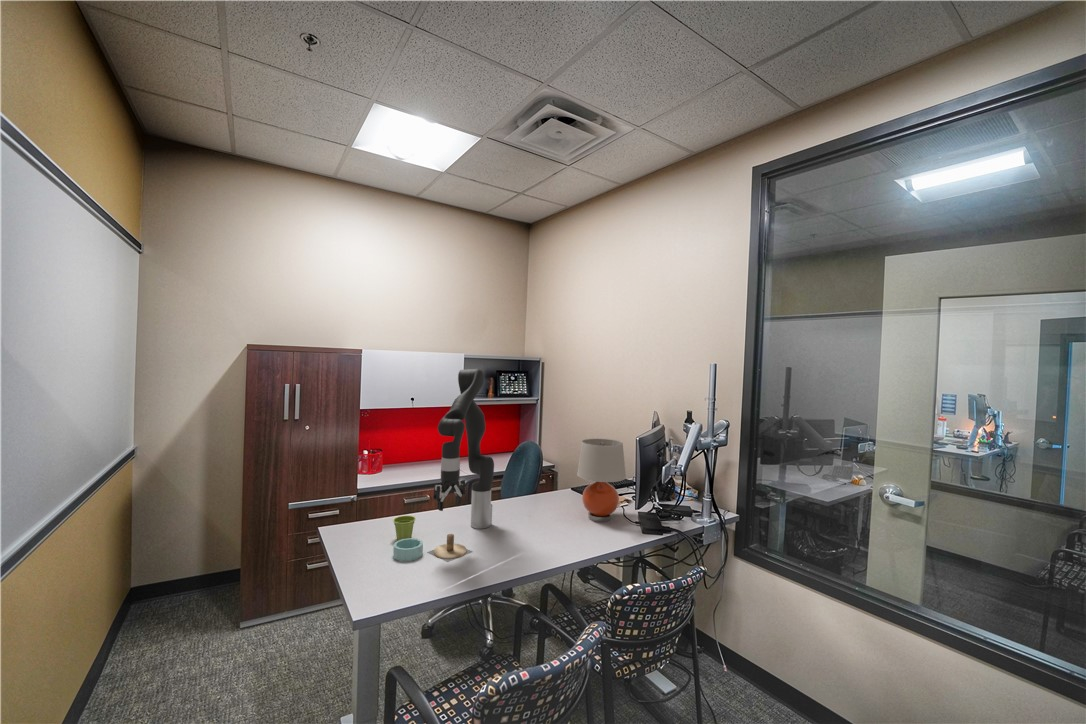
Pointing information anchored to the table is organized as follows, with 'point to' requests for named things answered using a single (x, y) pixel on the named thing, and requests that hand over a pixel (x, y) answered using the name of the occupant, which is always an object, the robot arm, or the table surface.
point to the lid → (450, 549)
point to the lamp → (601, 476)
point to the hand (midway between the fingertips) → (449, 508)
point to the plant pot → (404, 526)
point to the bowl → (408, 549)
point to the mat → (449, 559)
